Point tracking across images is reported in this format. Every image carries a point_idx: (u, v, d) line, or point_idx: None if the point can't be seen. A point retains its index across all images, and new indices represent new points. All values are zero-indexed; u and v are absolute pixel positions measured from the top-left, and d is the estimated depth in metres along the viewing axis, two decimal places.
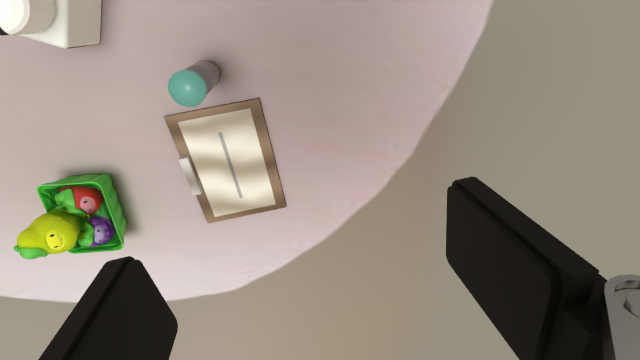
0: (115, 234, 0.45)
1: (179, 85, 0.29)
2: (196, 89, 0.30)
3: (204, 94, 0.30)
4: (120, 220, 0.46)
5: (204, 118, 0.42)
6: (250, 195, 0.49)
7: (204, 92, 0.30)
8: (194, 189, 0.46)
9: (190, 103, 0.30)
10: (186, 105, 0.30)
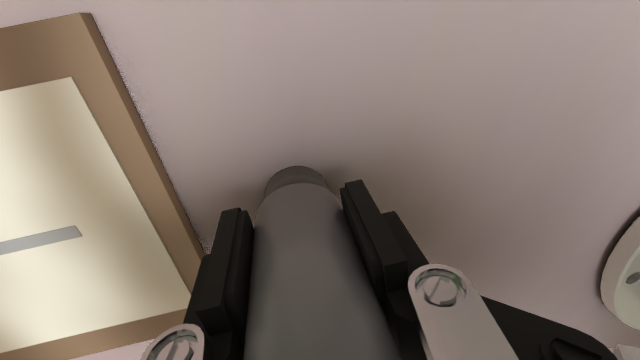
0: None
1: None
2: None
3: None
4: None
5: (123, 183, 0.11)
6: None
7: None
8: None
9: None
10: None
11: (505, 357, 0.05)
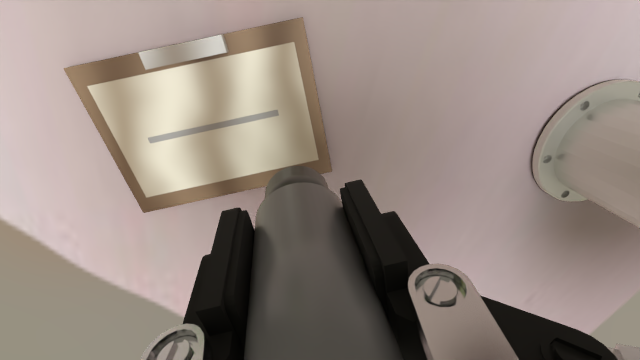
0: None
1: None
2: None
3: None
4: None
5: (301, 89, 0.25)
6: (157, 156, 0.26)
7: None
8: (154, 56, 0.22)
9: None
10: None
11: (505, 357, 0.05)
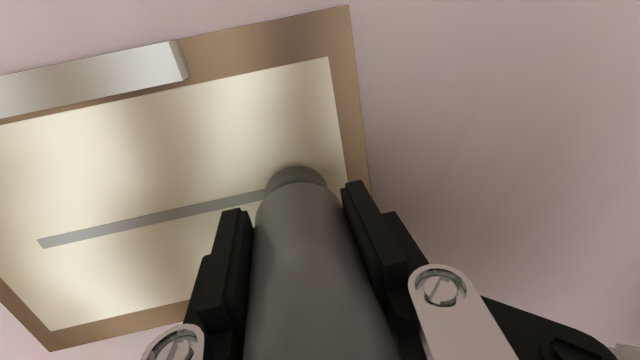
0: None
1: None
2: None
3: None
4: None
5: (337, 147, 0.13)
6: (61, 269, 0.14)
7: None
8: (15, 90, 0.10)
9: None
10: None
11: (505, 357, 0.05)
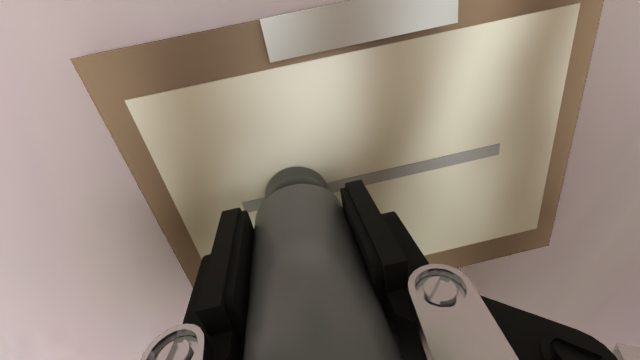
0: None
1: None
2: None
3: None
4: None
5: (555, 104, 0.12)
6: None
7: None
8: (296, 30, 0.09)
9: None
10: None
11: (505, 357, 0.05)
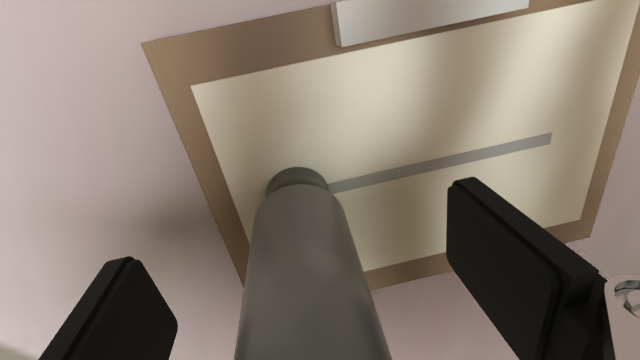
0: None
1: None
2: None
3: None
4: None
5: (609, 93, 0.12)
6: None
7: None
8: (370, 14, 0.09)
9: None
10: None
11: None
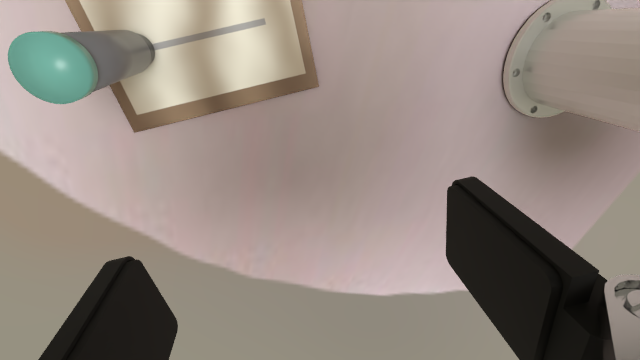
0: None
1: (52, 55, 0.15)
2: (56, 87, 0.16)
3: (52, 101, 0.16)
4: None
5: None
6: None
7: (56, 101, 0.16)
8: None
9: (20, 72, 0.15)
10: (12, 64, 0.15)
11: None
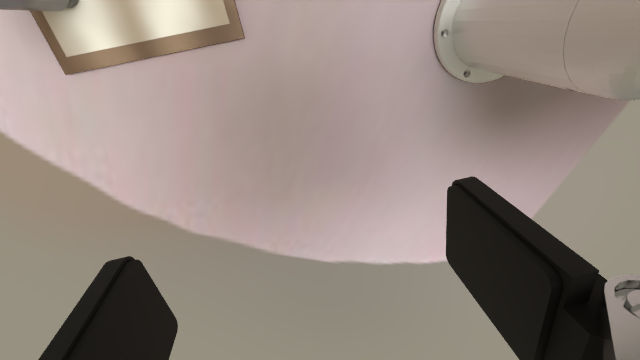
0: None
1: None
2: None
3: None
4: None
5: None
6: (72, 11, 0.28)
7: None
8: None
9: None
10: None
11: None
